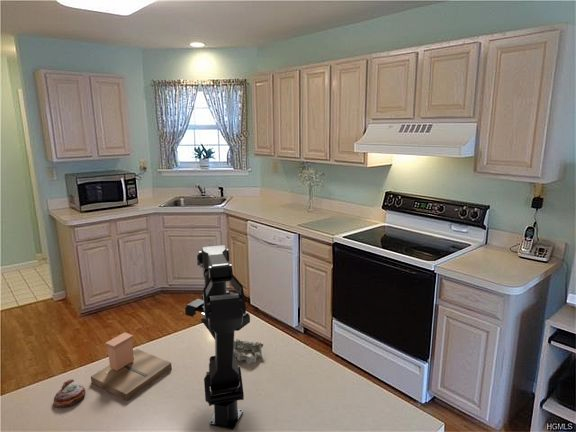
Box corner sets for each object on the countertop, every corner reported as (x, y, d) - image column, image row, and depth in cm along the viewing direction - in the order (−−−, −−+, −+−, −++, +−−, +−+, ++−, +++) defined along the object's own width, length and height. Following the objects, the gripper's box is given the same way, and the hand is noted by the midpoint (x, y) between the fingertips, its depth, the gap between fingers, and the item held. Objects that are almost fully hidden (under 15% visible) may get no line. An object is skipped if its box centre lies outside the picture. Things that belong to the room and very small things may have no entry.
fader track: (171, 368, 119) (171, 362, 119) (127, 400, 106) (126, 393, 105) (137, 354, 126) (136, 348, 126) (91, 382, 113) (90, 376, 112)
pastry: (77, 385, 112) (75, 370, 111) (92, 395, 108) (90, 379, 107) (47, 402, 105) (45, 385, 104) (63, 413, 101) (60, 396, 100)
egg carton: (265, 355, 126) (265, 343, 125) (250, 367, 120) (250, 355, 119) (239, 345, 132) (238, 334, 131) (223, 356, 126) (223, 344, 125)
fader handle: (135, 359, 119) (133, 335, 117) (116, 371, 114) (113, 346, 112) (127, 356, 121) (124, 332, 119) (108, 368, 116) (105, 342, 114)
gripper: (260, 286, 110) (261, 336, 114) (208, 273, 119) (211, 320, 123) (236, 302, 101) (238, 356, 105) (182, 287, 110) (185, 337, 114)
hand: (218, 341), depth 112 cm, fingers closed
